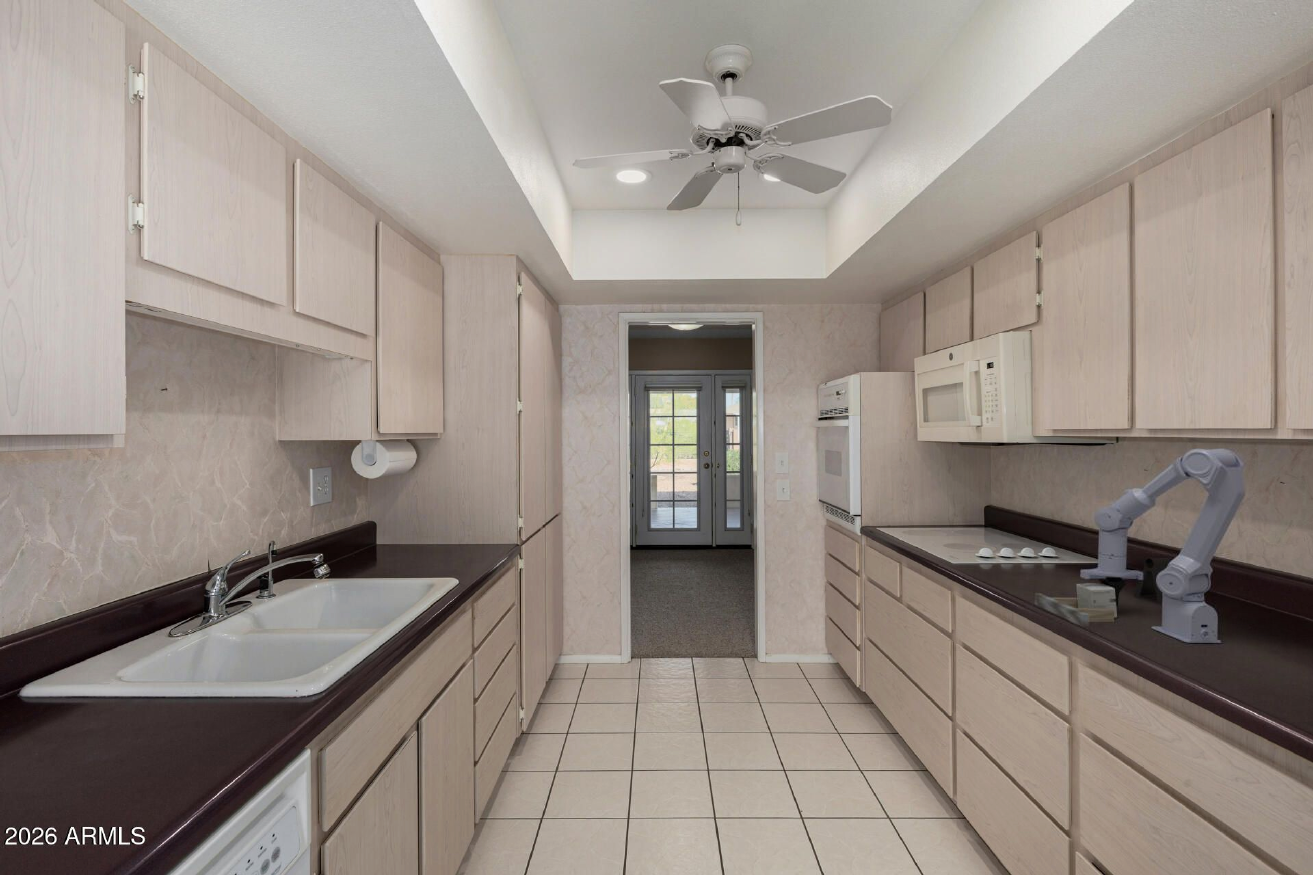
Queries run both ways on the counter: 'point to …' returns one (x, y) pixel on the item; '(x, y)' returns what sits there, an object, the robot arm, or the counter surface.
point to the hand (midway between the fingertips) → (1110, 606)
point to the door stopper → (1151, 579)
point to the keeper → (1074, 610)
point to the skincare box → (1096, 596)
